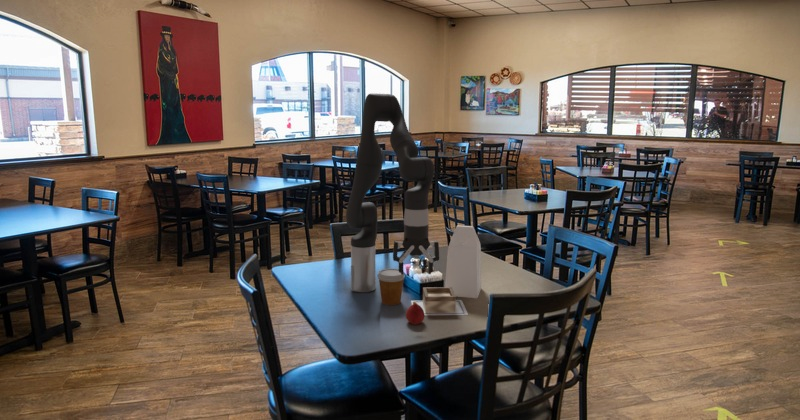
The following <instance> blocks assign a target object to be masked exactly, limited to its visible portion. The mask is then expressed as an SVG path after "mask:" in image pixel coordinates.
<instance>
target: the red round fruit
mask: <svg viewBox="0 0 800 420" xmlns="http://www.w3.org/2000/svg"><path fill="white" fill-rule="evenodd" d="M405 316H406V317H405V319H406V320H407V322H408V323H410V324H411V325H416V326H417V325H419V324H421V323H422V322H423V321H424V320H425V315H424V311H423V309H422V308H421V307H420V306H419V305H418V304H417V303H416V302H413V305H412V304H411V305H410V306H409V307H408V308H407V309H406V311H405Z"/></svg>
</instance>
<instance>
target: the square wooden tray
mask: <svg viewBox="0 0 800 420" xmlns="http://www.w3.org/2000/svg"><path fill="white" fill-rule="evenodd" d="M456 298H457V296H455V294H454V292H453V289H452V287H445V286H444V287H443V286H442V287H441V286H440V287H439V286H438V287H437V286H434V287H430V286H429V287H428V286H427V287H425V286H424V287H422V301H423V305H424V309H425V313H455V308H456V300H457V299H456Z"/></svg>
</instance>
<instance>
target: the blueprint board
mask: <svg viewBox="0 0 800 420" xmlns="http://www.w3.org/2000/svg"><path fill="white" fill-rule="evenodd" d="M413 302H416V303H417V304H418V305H419V306H420V307H421V308H422V309H423V311H424V316H468V315H469V313H468V311H467V309H466V306H465V304H464V302H463V299H456V308H455V313H425V309H424V305H423V300H410V303H411V305H413Z"/></svg>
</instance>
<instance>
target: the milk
mask: <svg viewBox="0 0 800 420" xmlns="http://www.w3.org/2000/svg"><path fill="white" fill-rule="evenodd" d="M481 245H482V244H481V242H480V239H479V237H478V234H477V232H476V229H475V227H474V226H473V225H459V224H458V225H456V227H455V229H454V230H453V234H452V237H451V239H450V242H449V244H448V247H447V254H446V255H447V257H446V268H445V269H446V270H445V282H444V283H445V285H444V287H452V289H453V292H454V294H455V296H456V297H459V298H470V299H478V297H479V295H480V292H481V290H482V261H481V260H482V257H481V256H482V249H481V247H482V246H481Z"/></svg>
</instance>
